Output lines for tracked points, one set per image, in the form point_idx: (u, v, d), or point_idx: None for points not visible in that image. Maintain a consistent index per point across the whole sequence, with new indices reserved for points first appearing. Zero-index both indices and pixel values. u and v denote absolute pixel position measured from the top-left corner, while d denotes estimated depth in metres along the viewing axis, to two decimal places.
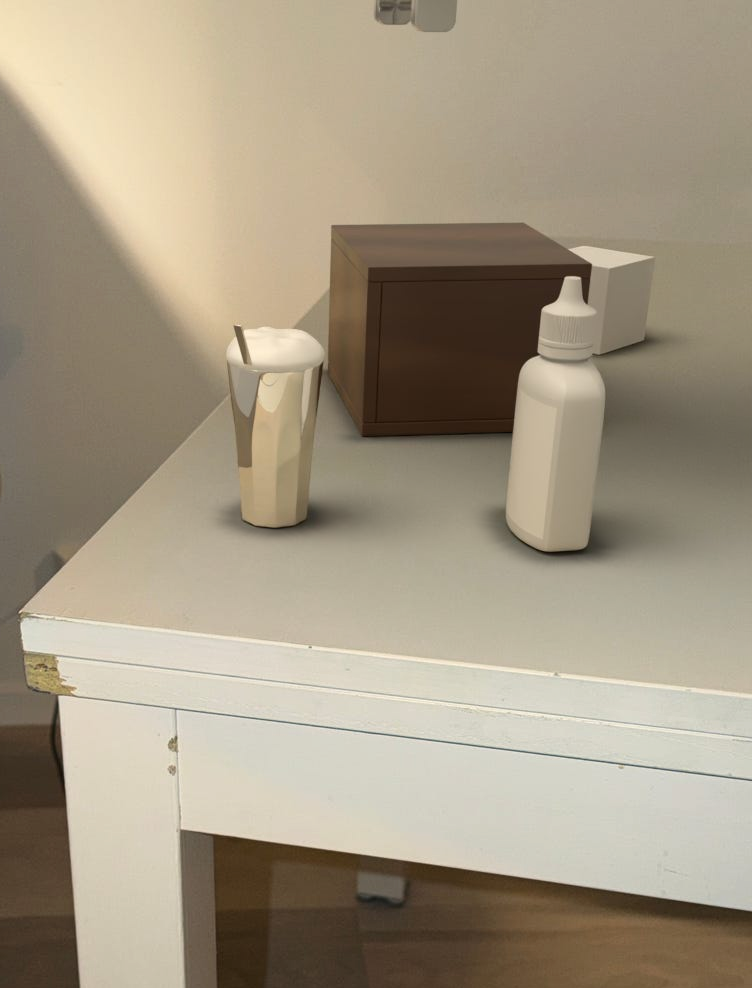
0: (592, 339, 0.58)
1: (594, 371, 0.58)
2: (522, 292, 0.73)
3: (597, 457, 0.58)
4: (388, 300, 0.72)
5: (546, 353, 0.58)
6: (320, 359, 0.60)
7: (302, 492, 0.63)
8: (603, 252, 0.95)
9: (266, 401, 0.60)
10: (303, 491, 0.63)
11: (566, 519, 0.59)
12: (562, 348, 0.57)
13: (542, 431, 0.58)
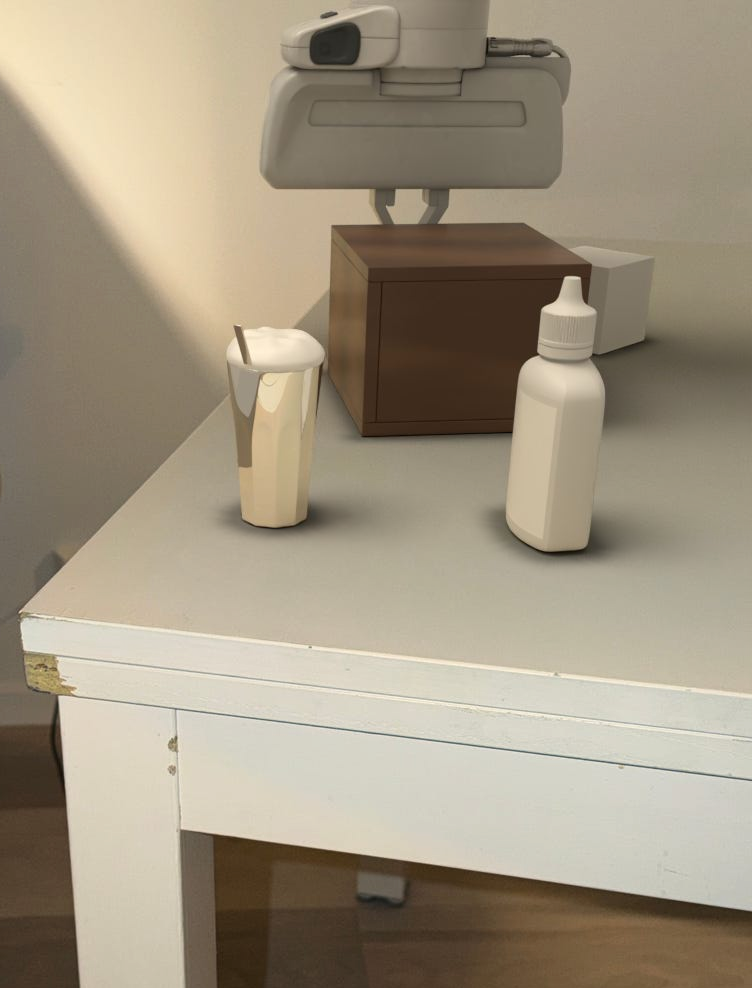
0: (592, 339, 0.58)
1: (594, 371, 0.58)
2: (522, 292, 0.73)
3: (597, 457, 0.58)
4: (388, 300, 0.72)
5: (546, 353, 0.58)
6: (320, 359, 0.60)
7: (302, 492, 0.63)
8: (603, 252, 0.95)
9: (266, 401, 0.60)
10: (303, 491, 0.63)
11: (566, 519, 0.59)
12: (562, 348, 0.57)
13: (542, 431, 0.58)
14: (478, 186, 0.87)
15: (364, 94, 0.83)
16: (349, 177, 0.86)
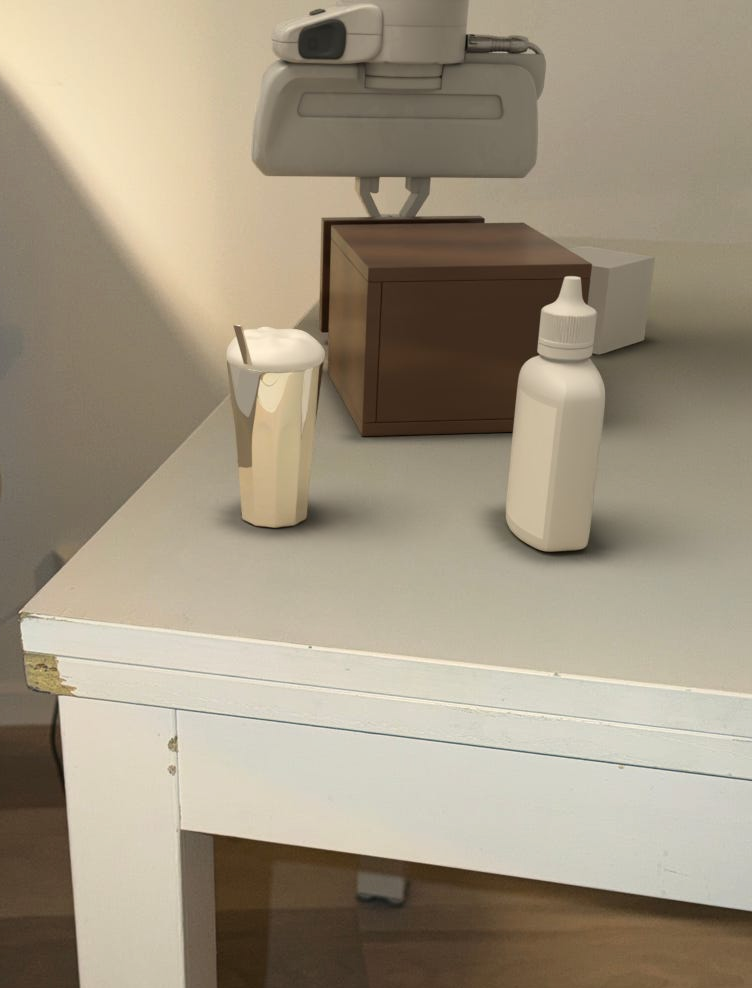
0: (592, 339, 0.58)
1: (594, 371, 0.58)
2: (522, 292, 0.73)
3: (597, 457, 0.58)
4: (388, 300, 0.72)
5: (546, 353, 0.58)
6: (320, 359, 0.60)
7: (302, 492, 0.63)
8: (603, 252, 0.95)
9: (266, 401, 0.60)
10: (303, 491, 0.63)
11: (566, 519, 0.59)
12: (562, 348, 0.57)
13: (542, 431, 0.58)
14: (457, 175, 0.92)
15: (350, 86, 0.88)
16: (336, 165, 0.91)
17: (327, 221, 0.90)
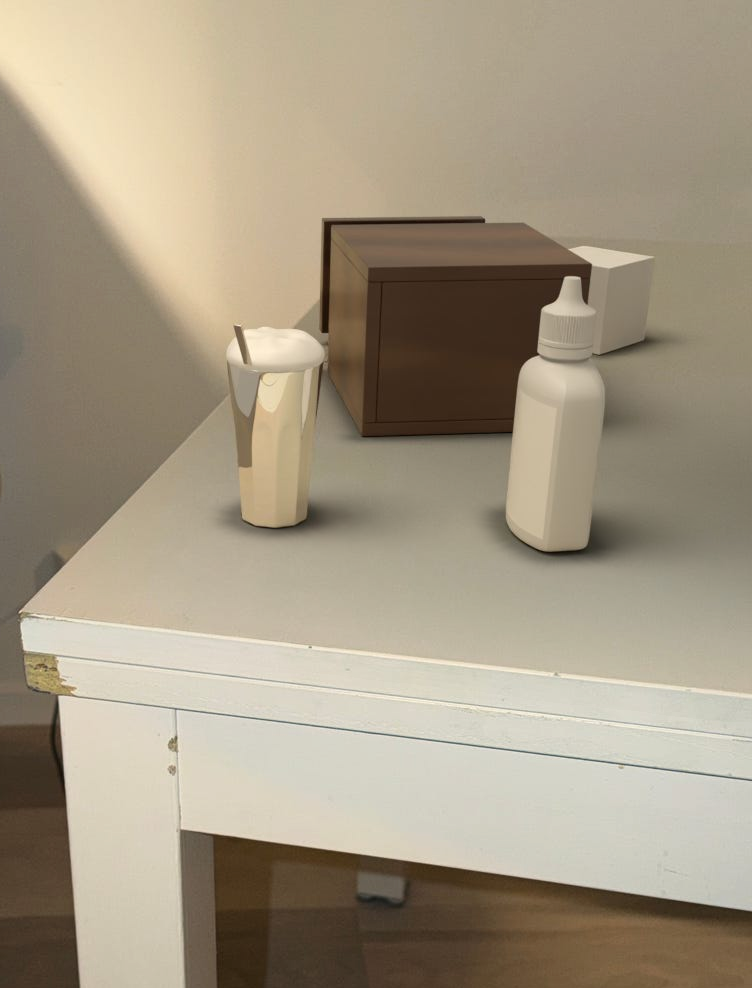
0: (592, 339, 0.58)
1: (594, 371, 0.58)
2: (522, 292, 0.73)
3: (597, 457, 0.58)
4: (388, 300, 0.72)
5: (546, 353, 0.58)
6: (320, 359, 0.60)
7: (302, 492, 0.63)
8: (603, 252, 0.95)
9: (266, 401, 0.60)
10: (303, 491, 0.63)
11: (566, 519, 0.59)
12: (562, 348, 0.57)
13: (542, 431, 0.58)
14: None
15: None
16: None
17: (327, 221, 0.90)
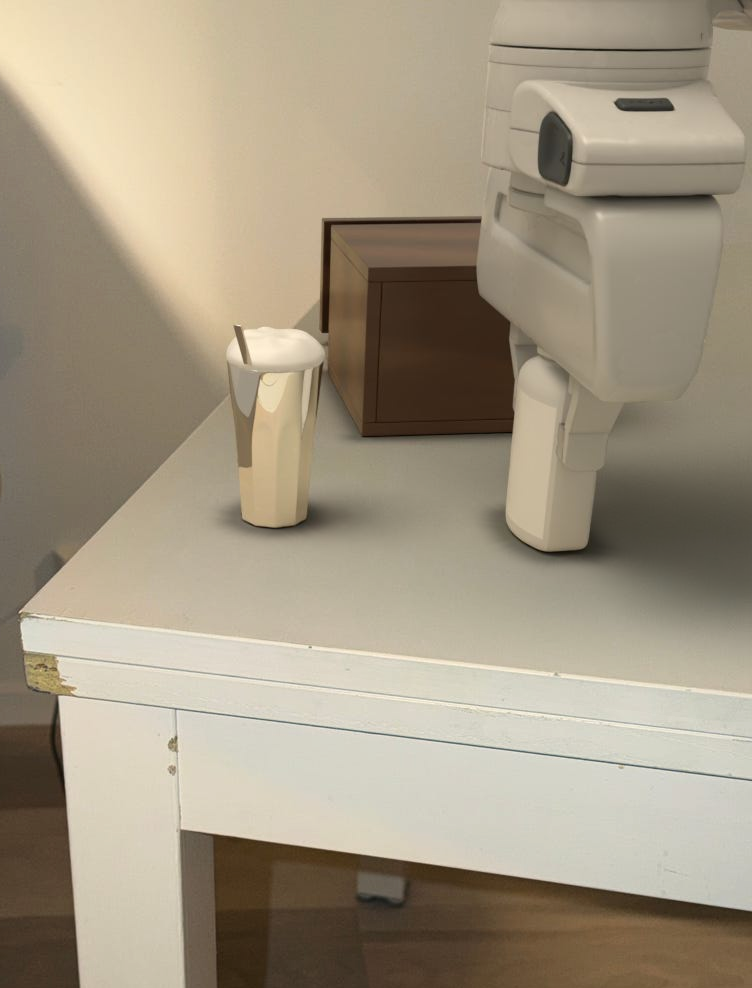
0: None
1: None
2: None
3: None
4: (388, 300, 0.72)
5: (546, 353, 0.58)
6: (320, 359, 0.60)
7: (302, 492, 0.63)
8: None
9: (266, 401, 0.60)
10: (303, 491, 0.63)
11: (566, 519, 0.59)
12: None
13: (542, 431, 0.58)
14: None
15: None
16: None
17: (327, 221, 0.90)
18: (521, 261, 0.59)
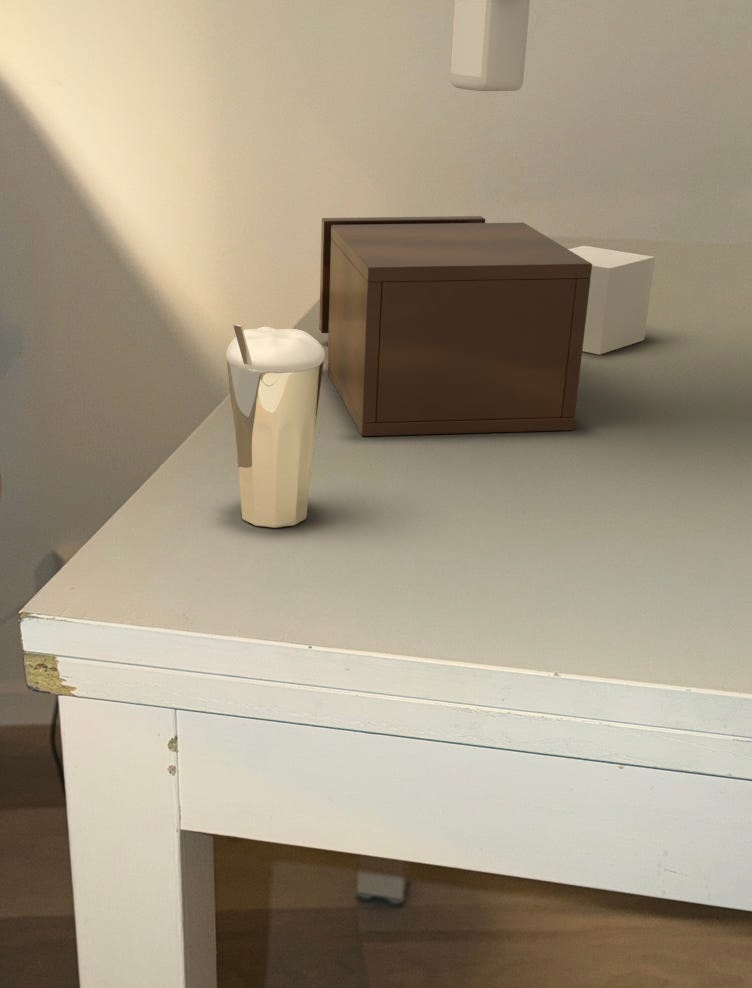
0: None
1: None
2: (522, 292, 0.73)
3: None
4: (388, 300, 0.72)
5: None
6: (320, 359, 0.60)
7: (302, 492, 0.63)
8: (603, 252, 0.95)
9: (266, 401, 0.60)
10: (303, 491, 0.63)
11: (502, 55, 0.66)
12: None
13: None
14: None
15: None
16: None
17: (327, 221, 0.90)
18: None
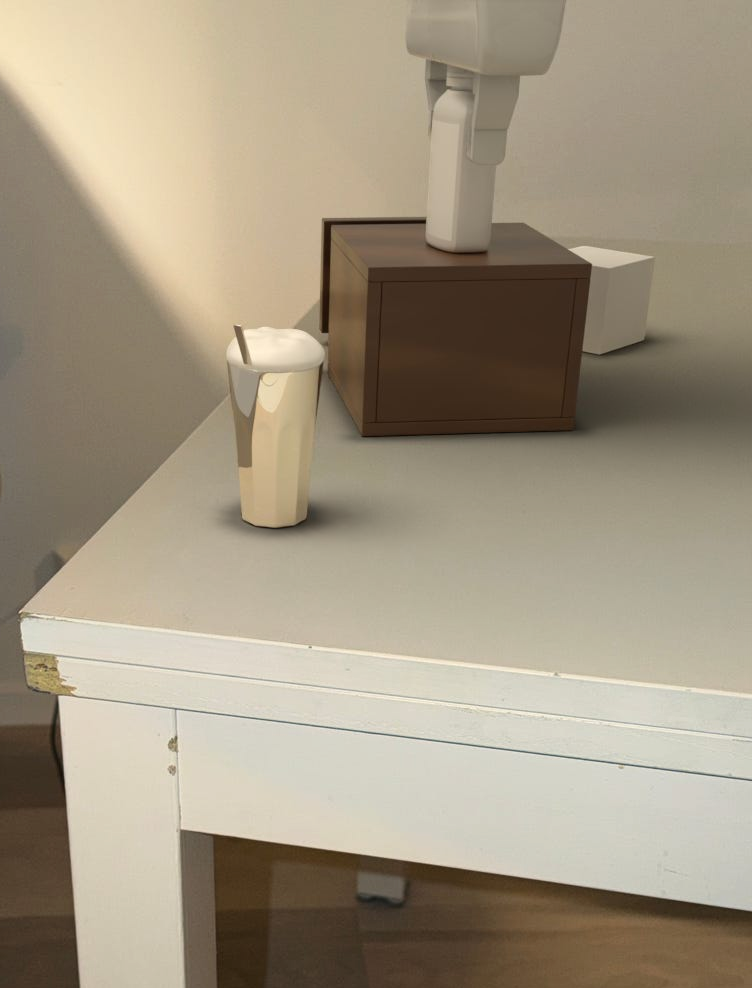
0: None
1: None
2: (522, 292, 0.73)
3: (493, 169, 0.73)
4: (388, 300, 0.72)
5: (452, 83, 0.72)
6: (320, 359, 0.60)
7: (302, 492, 0.63)
8: (603, 252, 0.95)
9: (266, 401, 0.60)
10: (303, 491, 0.63)
11: (470, 223, 0.74)
12: (464, 77, 0.72)
13: (449, 147, 0.73)
14: None
15: None
16: None
17: (327, 221, 0.90)
18: None
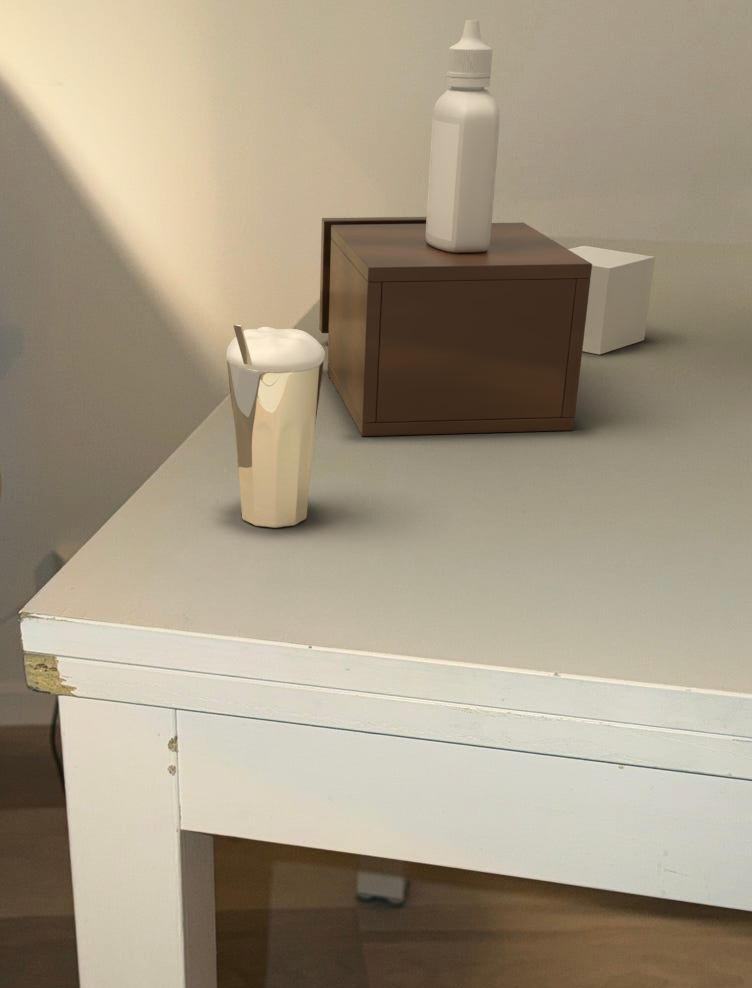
0: (488, 71, 0.72)
1: (490, 98, 0.72)
2: (522, 292, 0.73)
3: (493, 169, 0.73)
4: (388, 300, 0.72)
5: (452, 83, 0.72)
6: (320, 359, 0.60)
7: (302, 492, 0.63)
8: (603, 252, 0.95)
9: (266, 401, 0.60)
10: (303, 491, 0.63)
11: (470, 223, 0.74)
12: (464, 77, 0.72)
13: (449, 147, 0.73)
14: None
15: None
16: None
17: (327, 221, 0.90)
18: None
